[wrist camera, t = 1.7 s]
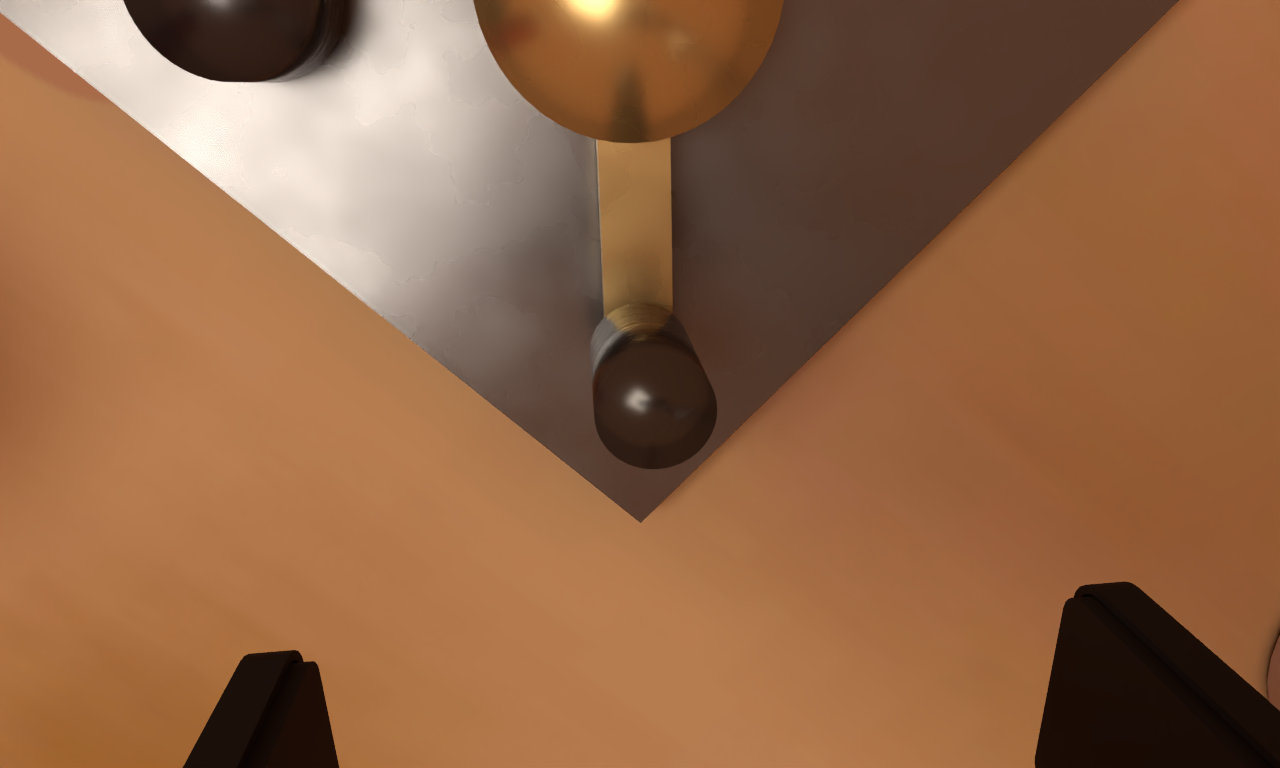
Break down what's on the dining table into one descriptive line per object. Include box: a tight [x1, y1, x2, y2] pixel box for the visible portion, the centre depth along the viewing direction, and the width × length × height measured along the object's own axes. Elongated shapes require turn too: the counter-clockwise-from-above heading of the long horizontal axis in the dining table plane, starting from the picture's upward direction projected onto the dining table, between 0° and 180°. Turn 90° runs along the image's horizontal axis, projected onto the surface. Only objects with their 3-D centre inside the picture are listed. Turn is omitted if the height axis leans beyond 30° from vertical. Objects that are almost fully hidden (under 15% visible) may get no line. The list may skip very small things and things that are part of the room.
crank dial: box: [473, 0, 784, 469], centre depth 21 cm, size 16×8×7 cm, turn 1°
